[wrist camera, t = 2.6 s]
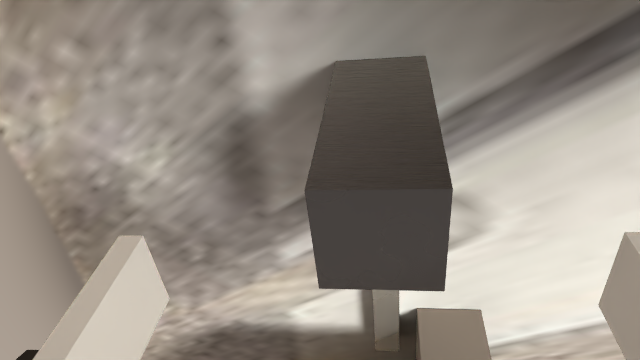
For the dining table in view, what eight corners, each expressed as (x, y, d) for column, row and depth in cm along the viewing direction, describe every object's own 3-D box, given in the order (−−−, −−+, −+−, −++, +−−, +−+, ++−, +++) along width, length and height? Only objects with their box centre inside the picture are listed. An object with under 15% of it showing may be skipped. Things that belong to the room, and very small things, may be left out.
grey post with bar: (336, 60, 21) (304, 190, 13) (425, 56, 20) (452, 188, 12) (358, 334, 32) (349, 495, 24) (416, 336, 31) (427, 502, 23)
